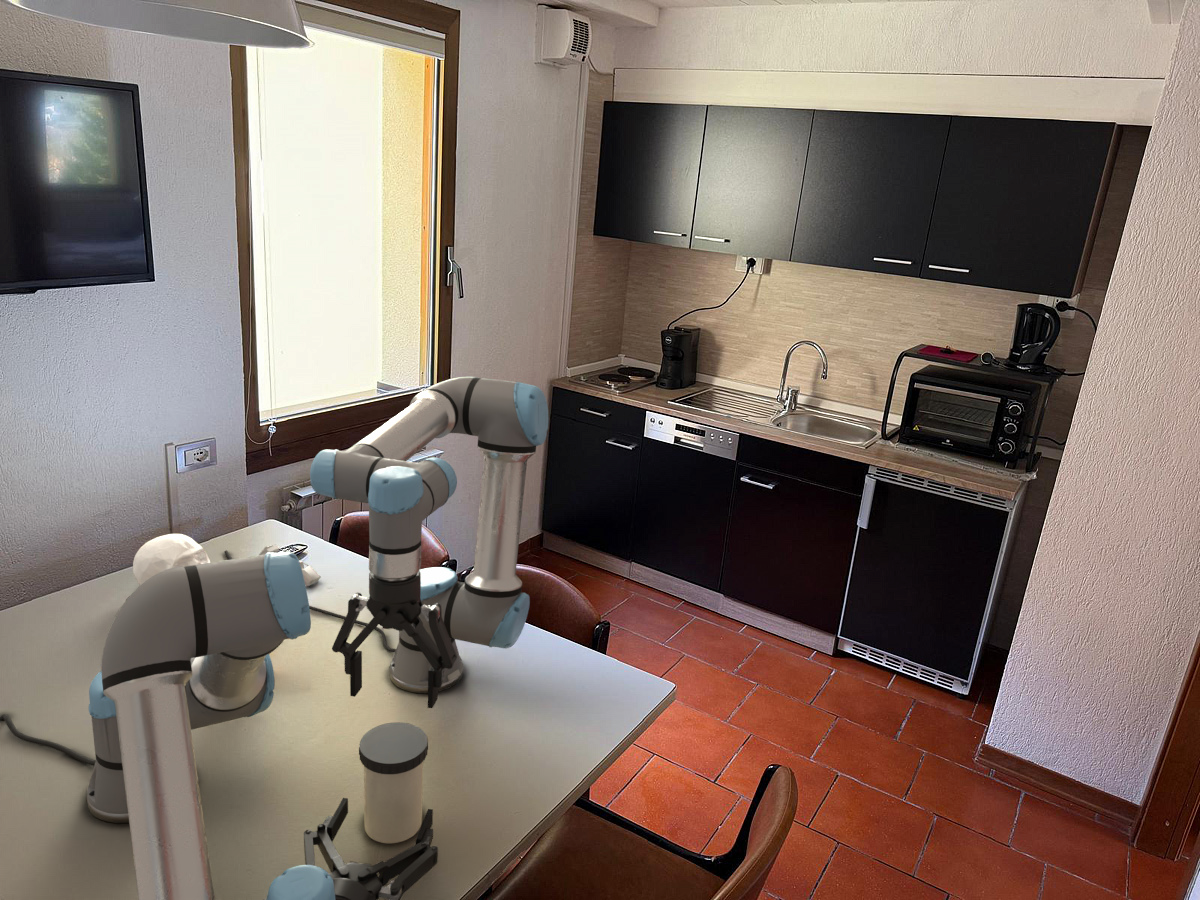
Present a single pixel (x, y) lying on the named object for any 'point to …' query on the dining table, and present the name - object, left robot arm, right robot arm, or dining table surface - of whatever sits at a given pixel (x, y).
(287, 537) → the dining table surface
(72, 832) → the dining table surface
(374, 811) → the jar
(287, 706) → the dining table surface
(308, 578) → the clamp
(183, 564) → the skull
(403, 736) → the lid
